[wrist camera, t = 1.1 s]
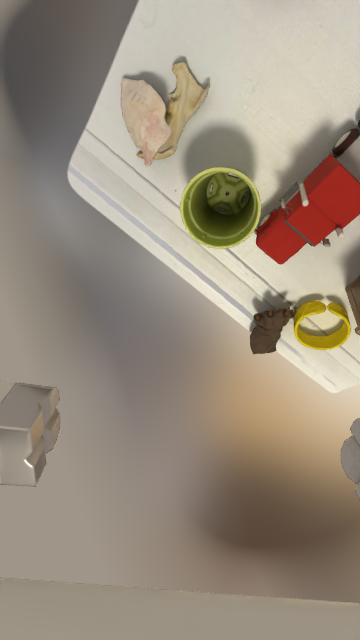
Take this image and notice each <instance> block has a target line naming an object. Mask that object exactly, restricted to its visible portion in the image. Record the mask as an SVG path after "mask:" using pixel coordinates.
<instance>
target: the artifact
mask: <svg viewBox="0 0 360 640" xmlns="http://www.w3.org/2000/svg"><path fill="white" fill-rule="evenodd" d="M121 108H122V114H123V118H124V120H125V122H126V125H127V129H128V131H129V133H130V134H131V137H132V139H133V141H134V143H135V145H136V146H137V148H139V149H141V150H142V152H143V154H144V155H145V165H146V166H150V165H151V164H152V158H153V156H154V155H155V154H156V152H157V151H158V150H159V148H160V147H161V146H162V145H163V144H164V143H165V142H166V141H167V140H168V138H169V137H170V135H171V132H172V127H171V126H169V125H168V124H167V123H166V121H165V113H166V106H165V104H164V102H163V100H162V98H161V96H160V95H158V94H157V93H156V91H155V90H154V89H153V87H152V86H151V85H148V84H146V82H145V81H144V80H130V79H127V78H123V79H122V83H121Z"/></svg>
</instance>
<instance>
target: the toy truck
mask: <svg viewBox="0 0 360 640" xmlns="http://www.w3.org/2000/svg"><path fill="white" fill-rule="evenodd" d="M358 127H359V128H360V120H359V122H358ZM333 154H334V155H338V156H337V157H336V158H335V157H334V156H333V155H332V154H329V155H328V156H327V157H326V158H325V159H324V160H323V162H322V163H321V164H320V165H319V166H318V167H317V168H316V169H315V170H314V171H313V172H312V173H311V174H310V175H309V176H308V177H307V178H306V179H305V180H304V181H303V183H300V184H298V183H297V182H296V183H295V184H294V185H293V186H292V188H291V189H290V190H289V191H288V192H287V193H286V194H285V195H284V196H283V197H282V198H281V199H280V200H279V201H280V202H281V206H280V208H279V209H278V211H276V210H275V209H274V211H273V212H271V213H270V214H268V215H267V216H266V217H265V218H264V219H263V220H262V221H261V223H260V224H259V227H258V229H256V228H255V230H254V232H255V234H256V235H257V237H256V245H257V246H258V247H259V248H260V249H261V250H262V251H264V252H265V253H266V254H267V255H268V256H270V257H271V258H272V259H273V260H275V261H276V262H277V263H278V264H283V263H285V262H286V261H287V260H288V259H289V258H290V257H292V256H293V255H294V254H296V253H297V252H298V251H299V250H300V249H301V248H302V247H303V246H304V245H305V244H306V243H308V244H309V245H311V246H314V247H315V246H316V245H317V244H318V243H320V242H321V241H323V245H324V246H327V247H330V242H329V239H325V237H327V236H328V235H329V234H330V233H331V232H332V231H334V230H336V232H337V235H338V237H339V239H343V238H344V233H343V231H342V229H343V228H344V227H345V226H346V225H347V224H349V223H350V222H351V221H352V220H353V219H354V218H356V217H357V216H358V215H359V214H360V182H359V180H360V134H359V135H358V130H357V129H352V130H350V131H348V132H347V133H346V134H344V135H343V136H342V137H341V138H340V139H339V140H338V142H337V143H336V145H335V146H334V148H333ZM321 244H322V243H321Z"/></svg>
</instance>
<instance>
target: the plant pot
mask: <svg viewBox="0 0 360 640" xmlns="http://www.w3.org/2000/svg"><path fill="white" fill-rule="evenodd" d="M229 173H231V174H234V175H236V176H238V178H235V177H233V176H228V174H229ZM212 184H214V186H213V188H212V193H211V194H210V187H211V185H212ZM226 192H229V195H228V196H227V195H226ZM244 193H246V197H245V201H244V202H243V203H242V199H243V197H244ZM219 207H221V208H223V209H226V210H228V211H221V210H219V209H218V208H219ZM180 213H181V218H182V222H183V224H184V226H185V228H186V230H187V231H188V233H189V234H190V235H191V236H192V237H193V238H194V239H195V240H196V241H197V242H199V243H201V244H202V245H204V246H207V247H210V248H216V249H225V248H230V247H234V246H236V245H238V244H240V243H242V242H243V241H245V240H246V239H247V238H248V237H249V236H250V235H251V234H252V233H253V231H254V230H255V228H256V226H257V224H258V222H259V219H260V214H261V201H260V196H259V193H258V191H257V189H256V187H255V185H254V184H253V182H252V181H251V180H250V179H249V178H248V177H247V176H246V175H244V174H243V173H241V172H240V171H237V170H235V169H232V168H227V167H216V168H210V169H207V170H205V171H202V172H201V173H199V174H198V175H196V176H195V177H194V178H193V179H192V180H191V181H190V182H189V183H188V184H187V186H186V188H185V190H184V192H183V194H182V198H181V203H180Z"/></svg>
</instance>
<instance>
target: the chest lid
mask: <svg viewBox="0 0 360 640" xmlns="http://www.w3.org/2000/svg"><path fill="white" fill-rule="evenodd" d="M355 332H356V333H357V334H358V335H360V325H359V326H358V327H357V328H355Z"/></svg>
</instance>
